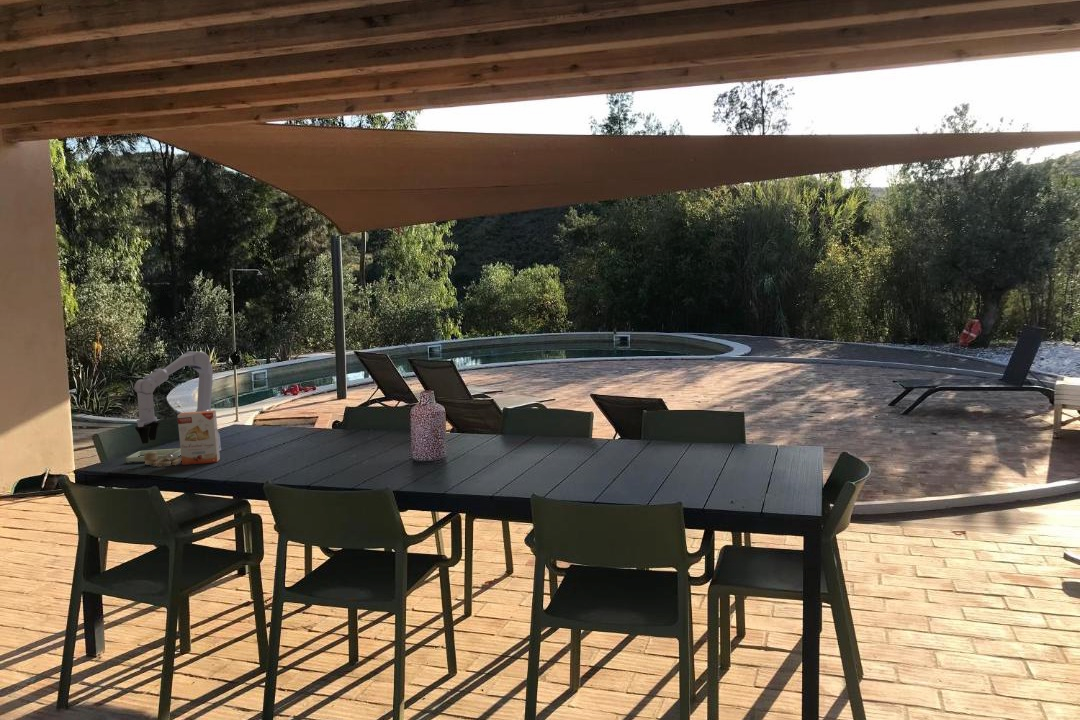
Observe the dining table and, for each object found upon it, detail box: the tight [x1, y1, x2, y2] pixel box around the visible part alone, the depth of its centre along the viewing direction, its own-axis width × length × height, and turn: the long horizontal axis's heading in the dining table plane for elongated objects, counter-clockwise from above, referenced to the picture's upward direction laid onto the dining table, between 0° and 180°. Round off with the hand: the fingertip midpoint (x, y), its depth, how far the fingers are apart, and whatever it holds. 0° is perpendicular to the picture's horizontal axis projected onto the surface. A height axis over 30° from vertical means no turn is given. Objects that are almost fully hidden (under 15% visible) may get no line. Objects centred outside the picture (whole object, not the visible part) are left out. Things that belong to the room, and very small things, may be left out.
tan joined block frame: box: [144, 452, 182, 467], centre depth 360 cm, size 14×9×5 cm, turn 92°
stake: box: [166, 451, 173, 463], centre depth 360 cm, size 2×4×5 cm, turn 3°
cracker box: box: [177, 410, 221, 466], centre depth 358 cm, size 14×6×21 cm, turn 99°
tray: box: [124, 447, 181, 463], centre depth 372 cm, size 19×14×2 cm
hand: (149, 441), depth 359 cm, fingers open, 7 cm apart
